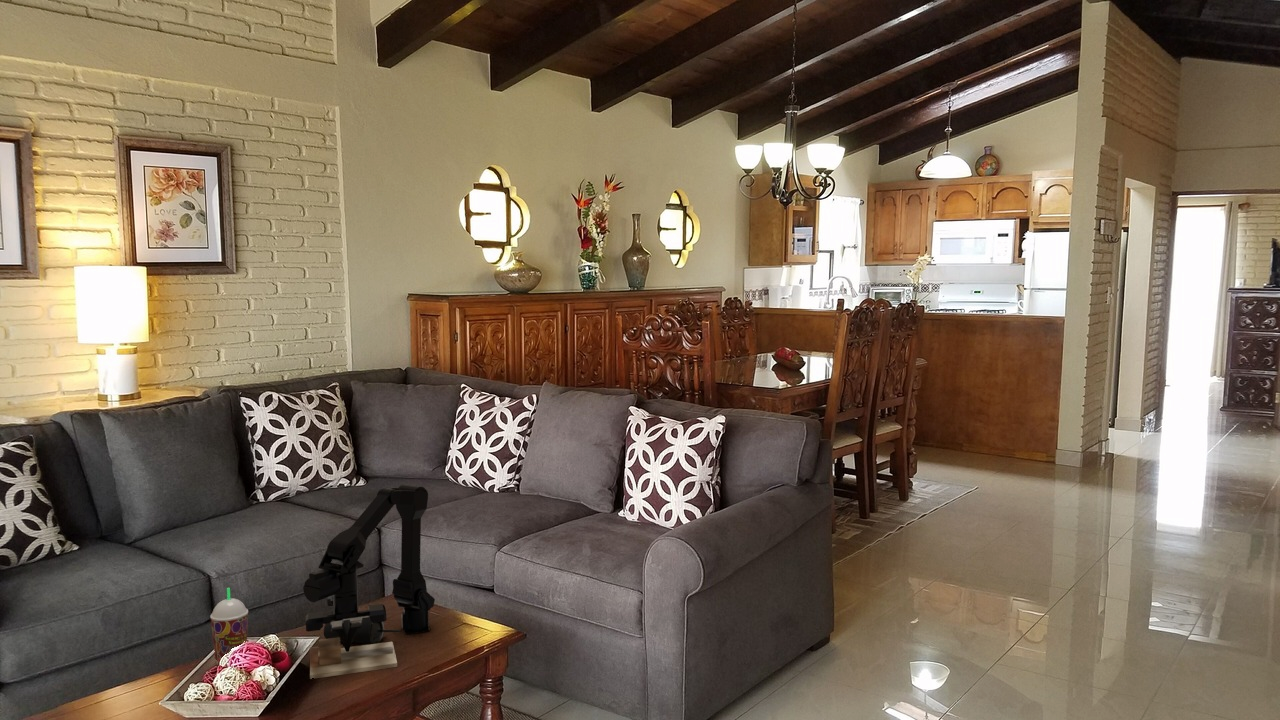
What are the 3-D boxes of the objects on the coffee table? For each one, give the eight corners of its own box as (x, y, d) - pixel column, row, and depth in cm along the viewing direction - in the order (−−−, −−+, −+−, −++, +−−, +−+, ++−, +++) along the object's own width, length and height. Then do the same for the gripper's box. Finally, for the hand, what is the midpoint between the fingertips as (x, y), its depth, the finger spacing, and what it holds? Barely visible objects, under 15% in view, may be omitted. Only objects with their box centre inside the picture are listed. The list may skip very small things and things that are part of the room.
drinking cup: (337, 629, 239) (408, 631, 236) (325, 650, 232) (398, 653, 230) (330, 608, 235) (402, 609, 233) (318, 629, 229) (392, 631, 226)
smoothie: (231, 677, 211) (228, 595, 209) (204, 672, 214) (201, 591, 212) (257, 663, 219) (255, 584, 217) (231, 658, 222) (228, 580, 220)
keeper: (340, 653, 222) (340, 637, 222) (341, 662, 217) (340, 645, 216) (319, 656, 220) (318, 639, 220) (319, 665, 215) (318, 648, 215)
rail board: (392, 645, 230) (392, 630, 230) (397, 666, 217) (396, 650, 217) (310, 656, 224) (309, 640, 223) (310, 679, 210) (309, 662, 210)
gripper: (382, 575, 229) (384, 633, 230) (304, 583, 223) (307, 644, 224) (385, 588, 219) (387, 650, 220) (304, 598, 212) (307, 661, 214)
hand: (347, 651), depth 220 cm, fingers closed
